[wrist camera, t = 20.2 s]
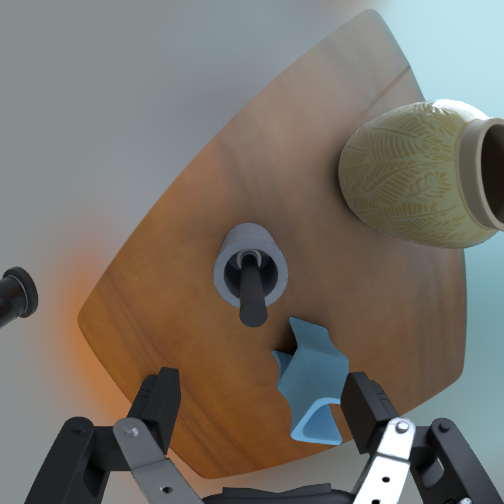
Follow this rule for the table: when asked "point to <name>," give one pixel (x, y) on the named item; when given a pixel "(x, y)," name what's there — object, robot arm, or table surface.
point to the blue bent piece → (312, 382)
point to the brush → (251, 288)
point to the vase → (427, 174)
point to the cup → (270, 268)
